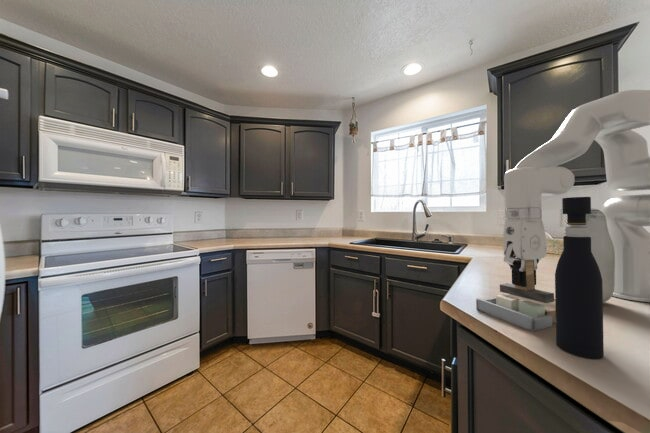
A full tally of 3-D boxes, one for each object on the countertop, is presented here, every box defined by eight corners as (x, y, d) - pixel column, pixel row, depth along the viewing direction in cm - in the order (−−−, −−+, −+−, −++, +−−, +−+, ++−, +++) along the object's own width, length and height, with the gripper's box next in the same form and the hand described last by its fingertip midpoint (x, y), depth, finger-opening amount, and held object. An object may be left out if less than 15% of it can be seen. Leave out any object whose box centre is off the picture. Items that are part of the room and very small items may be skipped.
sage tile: (526, 300, 62) (518, 301, 61) (544, 305, 58) (536, 307, 57) (526, 315, 62) (518, 317, 61) (545, 322, 58) (536, 324, 57)
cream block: (503, 294, 67) (496, 295, 66) (519, 299, 63) (511, 300, 62) (504, 308, 67) (496, 310, 66) (519, 314, 63) (511, 315, 62)
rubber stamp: (554, 301, 59) (551, 260, 59) (546, 303, 58) (543, 261, 58) (507, 290, 69) (505, 255, 69) (500, 291, 68) (497, 256, 68)
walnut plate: (526, 301, 73) (525, 291, 73) (577, 316, 62) (577, 305, 62) (497, 306, 69) (497, 296, 69) (547, 324, 58) (547, 312, 58)
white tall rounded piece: (568, 293, 79) (567, 208, 79) (617, 303, 70) (616, 207, 70) (560, 300, 73) (558, 208, 73) (612, 311, 65) (610, 207, 65)
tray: (494, 305, 70) (494, 295, 70) (552, 326, 57) (552, 313, 57) (476, 309, 68) (476, 298, 68) (532, 331, 55) (532, 318, 55)
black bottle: (614, 361, 44) (611, 195, 43) (572, 357, 45) (569, 196, 45) (584, 342, 50) (581, 197, 50) (548, 340, 51) (545, 199, 51)
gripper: (516, 215, 57) (517, 292, 57) (560, 214, 62) (561, 285, 63) (486, 216, 64) (487, 284, 64) (527, 214, 70) (528, 278, 70)
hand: (523, 284), depth 63 cm, fingers closed on rubber stamp, 3 cm apart
